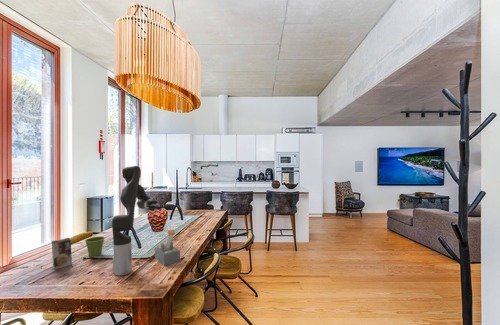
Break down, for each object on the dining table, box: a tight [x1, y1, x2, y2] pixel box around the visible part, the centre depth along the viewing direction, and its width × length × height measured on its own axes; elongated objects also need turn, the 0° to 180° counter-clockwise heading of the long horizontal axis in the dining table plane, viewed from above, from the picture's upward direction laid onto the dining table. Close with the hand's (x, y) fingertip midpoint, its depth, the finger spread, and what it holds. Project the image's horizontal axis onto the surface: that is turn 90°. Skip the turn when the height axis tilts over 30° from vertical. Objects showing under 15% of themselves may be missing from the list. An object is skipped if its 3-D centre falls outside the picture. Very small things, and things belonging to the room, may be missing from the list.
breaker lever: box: [164, 229, 176, 248], centre depth 159 cm, size 2×4×15 cm
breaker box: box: [154, 241, 181, 267], centre depth 163 cm, size 16×10×11 cm, turn 40°
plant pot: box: [84, 236, 106, 258], centre depth 173 cm, size 12×12×11 cm
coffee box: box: [51, 237, 73, 270], centre depth 157 cm, size 9×6×16 cm
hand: (159, 208), depth 170 cm, fingers closed
